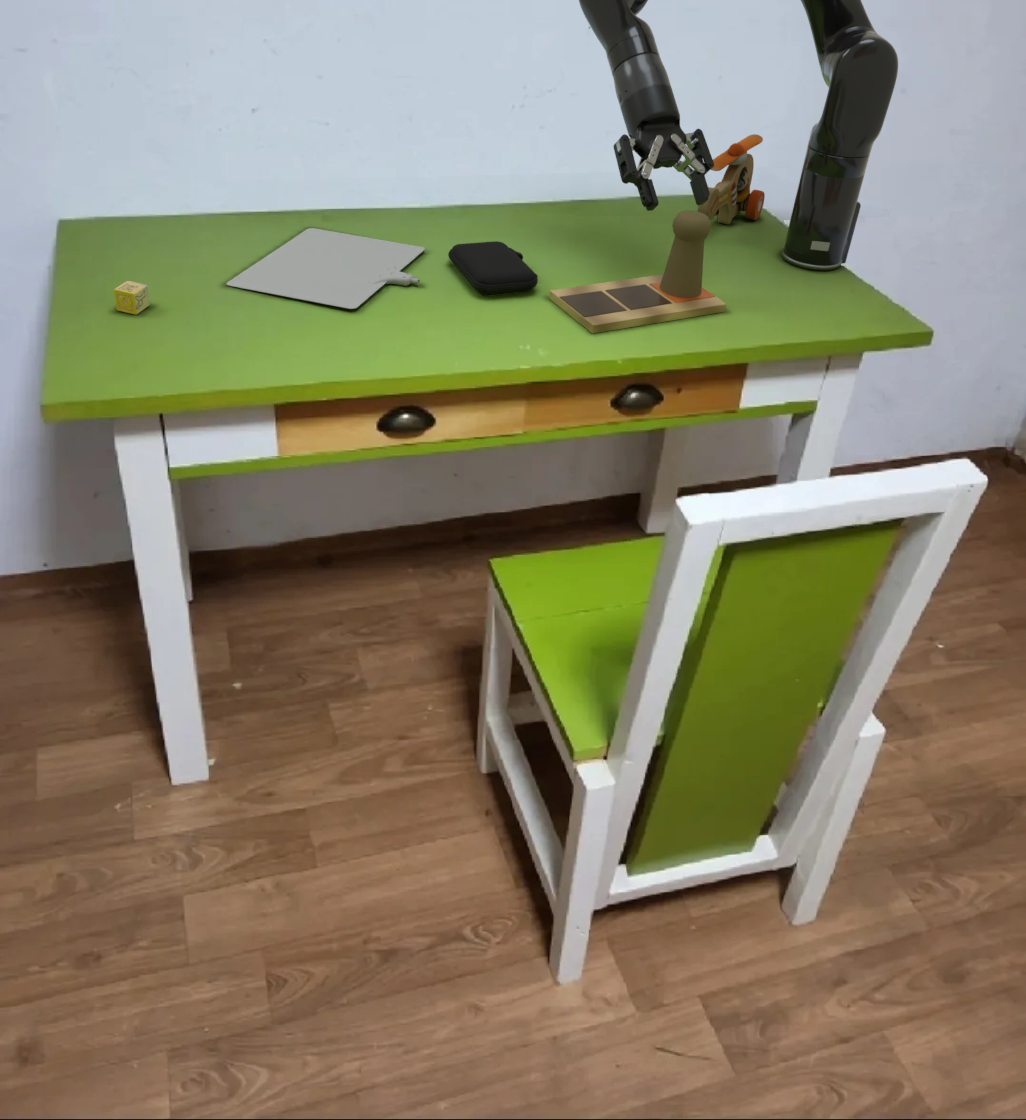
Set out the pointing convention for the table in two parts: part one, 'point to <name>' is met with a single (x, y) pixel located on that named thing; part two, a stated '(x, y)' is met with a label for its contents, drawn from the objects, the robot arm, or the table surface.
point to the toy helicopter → (735, 184)
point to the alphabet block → (131, 297)
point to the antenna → (330, 268)
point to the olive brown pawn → (686, 255)
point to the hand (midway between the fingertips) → (678, 205)
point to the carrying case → (493, 268)
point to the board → (630, 304)
